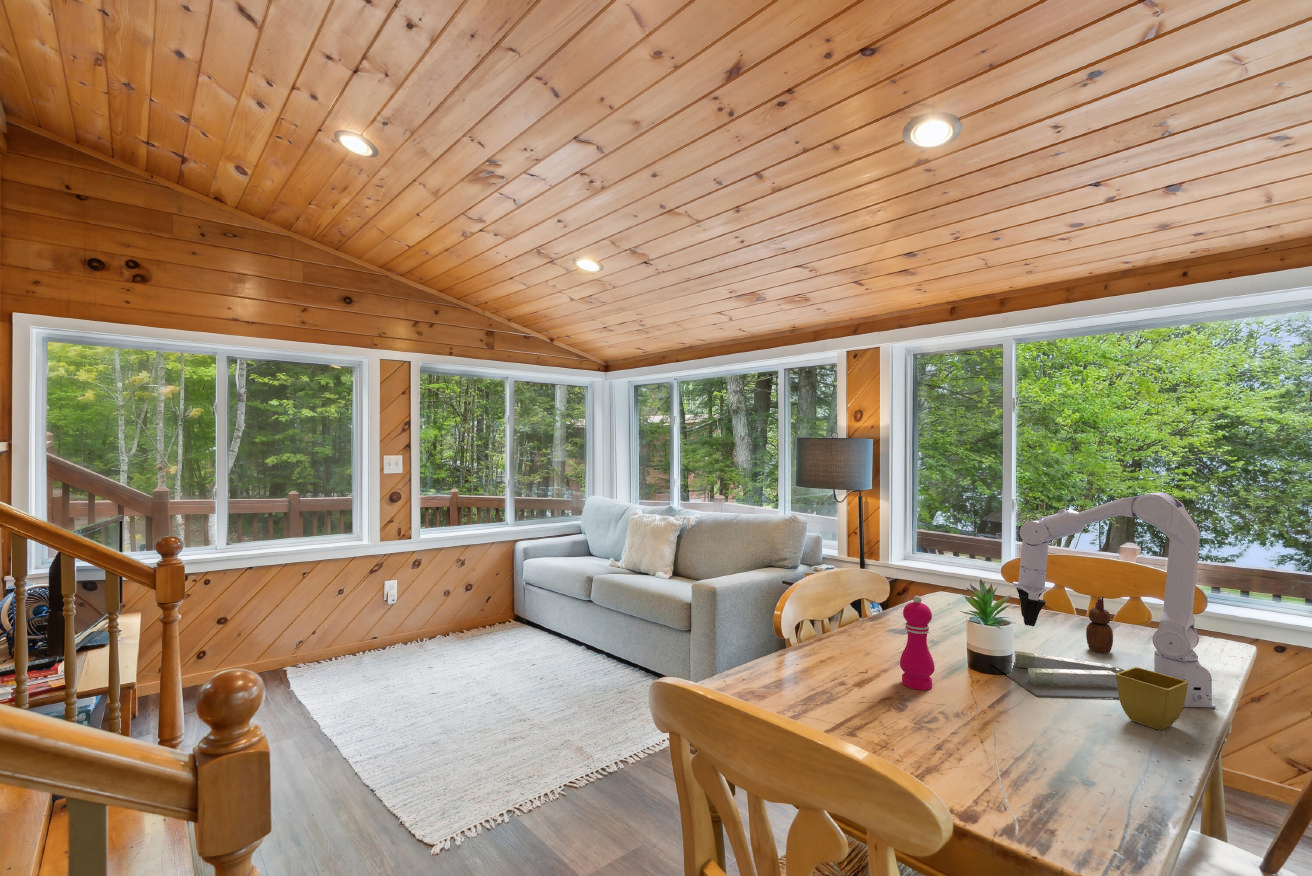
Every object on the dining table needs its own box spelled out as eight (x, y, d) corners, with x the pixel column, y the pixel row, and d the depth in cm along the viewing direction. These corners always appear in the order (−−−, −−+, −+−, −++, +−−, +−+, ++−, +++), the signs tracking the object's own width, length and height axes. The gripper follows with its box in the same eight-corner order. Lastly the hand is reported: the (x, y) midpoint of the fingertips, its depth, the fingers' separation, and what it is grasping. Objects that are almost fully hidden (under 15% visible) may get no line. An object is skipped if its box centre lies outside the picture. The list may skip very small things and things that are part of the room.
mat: (1166, 700, 130) (1166, 698, 130) (1036, 696, 131) (1036, 695, 131) (1101, 666, 150) (1101, 665, 150) (989, 663, 151) (989, 662, 151)
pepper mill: (938, 692, 133) (938, 600, 133) (903, 689, 134) (903, 598, 134) (930, 680, 140) (930, 592, 140) (896, 677, 141) (897, 591, 141)
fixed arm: (1109, 683, 138) (1109, 670, 138) (1117, 688, 135) (1117, 674, 135) (1028, 681, 139) (1028, 668, 139) (1034, 686, 136) (1034, 672, 136)
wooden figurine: (1113, 657, 157) (1113, 598, 157) (1085, 652, 160) (1085, 595, 161) (1113, 650, 162) (1113, 594, 163) (1086, 646, 166) (1086, 590, 166)
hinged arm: (1121, 679, 140) (1121, 665, 140) (1125, 685, 136) (1125, 671, 136) (1014, 663, 150) (1014, 650, 150) (1015, 668, 146) (1016, 655, 146)
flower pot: (1189, 727, 117) (1189, 680, 117) (1169, 738, 113) (1169, 689, 113) (1135, 710, 125) (1135, 666, 125) (1114, 719, 120) (1114, 673, 121)
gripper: (1012, 559, 162) (1008, 610, 162) (1016, 571, 149) (1011, 625, 150) (1044, 564, 159) (1039, 615, 159) (1050, 576, 146) (1045, 632, 146)
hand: (1027, 620), depth 154 cm, fingers open, 7 cm apart
